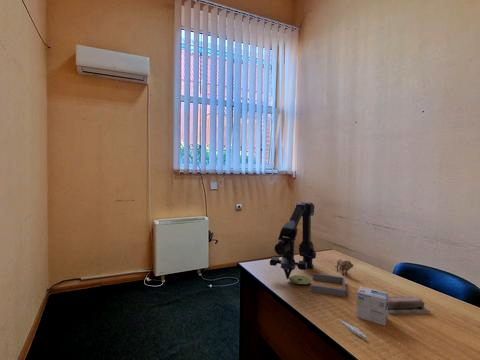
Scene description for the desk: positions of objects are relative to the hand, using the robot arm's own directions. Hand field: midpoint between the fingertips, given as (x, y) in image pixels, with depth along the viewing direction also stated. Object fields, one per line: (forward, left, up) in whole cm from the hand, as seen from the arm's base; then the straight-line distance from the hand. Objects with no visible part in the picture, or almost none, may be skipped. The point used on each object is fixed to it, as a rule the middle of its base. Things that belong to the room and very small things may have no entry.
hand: (287, 279), depth 143 cm
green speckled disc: (0, +6, -1) cm, 6 cm away
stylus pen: (+34, +29, -2) cm, 45 cm away
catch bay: (0, +20, -1) cm, 20 cm away
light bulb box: (+23, +38, -1) cm, 44 cm away
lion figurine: (-22, +28, -1) cm, 36 cm away
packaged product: (+10, +51, -2) cm, 52 cm away
